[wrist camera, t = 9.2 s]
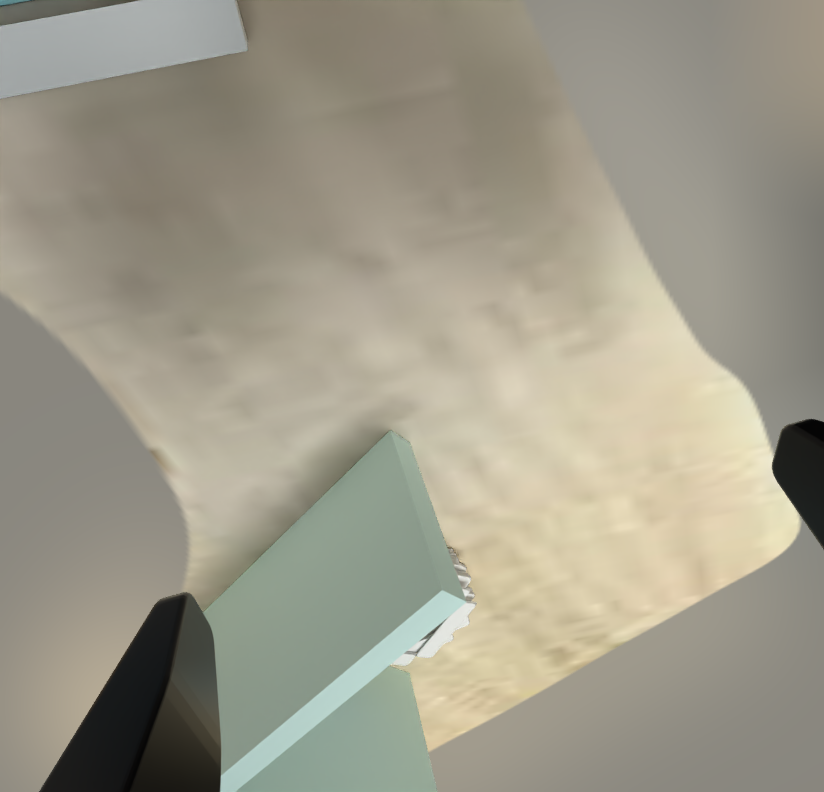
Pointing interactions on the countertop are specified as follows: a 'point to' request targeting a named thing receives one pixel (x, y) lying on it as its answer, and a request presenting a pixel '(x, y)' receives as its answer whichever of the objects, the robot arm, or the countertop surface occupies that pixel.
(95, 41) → the acrylic wall
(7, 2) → the teal mat
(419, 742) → the l-shaped corner panel
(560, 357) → the countertop surface
